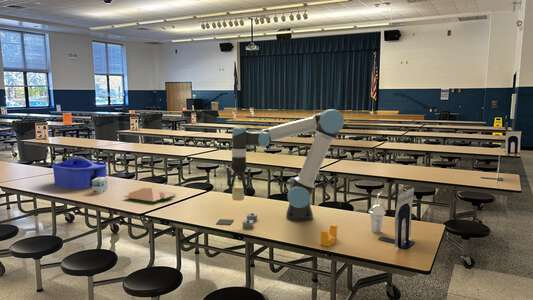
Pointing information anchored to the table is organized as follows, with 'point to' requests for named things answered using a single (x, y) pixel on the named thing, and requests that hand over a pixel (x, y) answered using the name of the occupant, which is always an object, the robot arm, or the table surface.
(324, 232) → the pipe clamp
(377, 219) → the cup with straw
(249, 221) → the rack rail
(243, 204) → the table surface
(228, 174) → the robot arm
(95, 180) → the light bulb box
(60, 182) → the caddy
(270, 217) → the table surface
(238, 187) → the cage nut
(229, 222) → the rubber mat
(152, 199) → the house
